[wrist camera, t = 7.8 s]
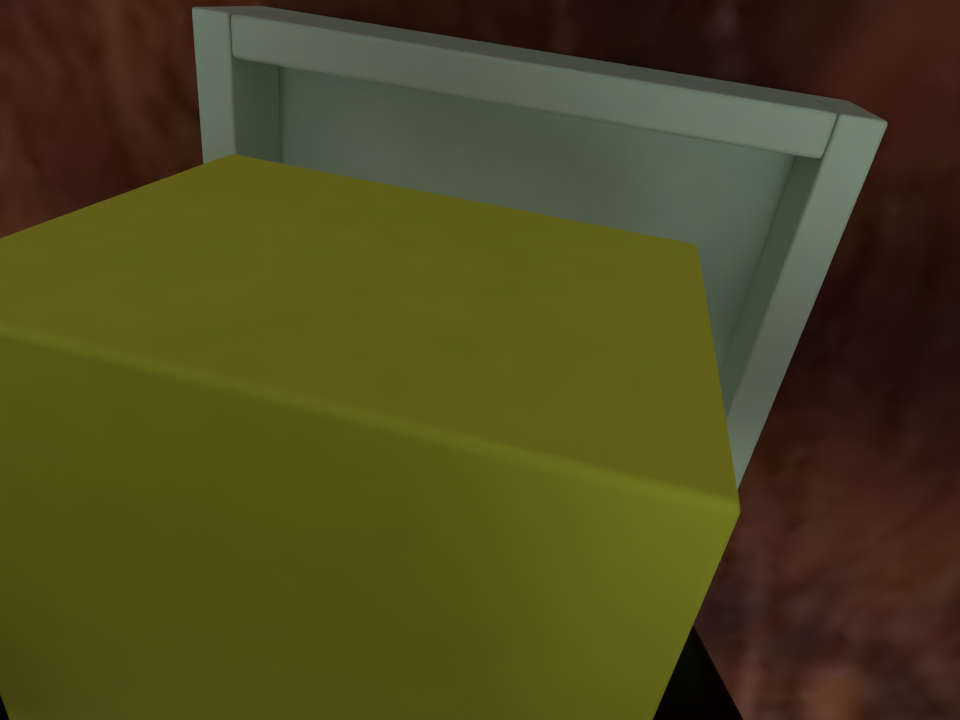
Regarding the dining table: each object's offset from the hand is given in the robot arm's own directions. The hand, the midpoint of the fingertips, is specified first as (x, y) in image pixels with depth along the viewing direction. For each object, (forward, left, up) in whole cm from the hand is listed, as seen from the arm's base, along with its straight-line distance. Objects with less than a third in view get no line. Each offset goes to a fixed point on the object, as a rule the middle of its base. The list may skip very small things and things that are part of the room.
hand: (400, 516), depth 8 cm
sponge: (0, 0, -1) cm, 1 cm away
